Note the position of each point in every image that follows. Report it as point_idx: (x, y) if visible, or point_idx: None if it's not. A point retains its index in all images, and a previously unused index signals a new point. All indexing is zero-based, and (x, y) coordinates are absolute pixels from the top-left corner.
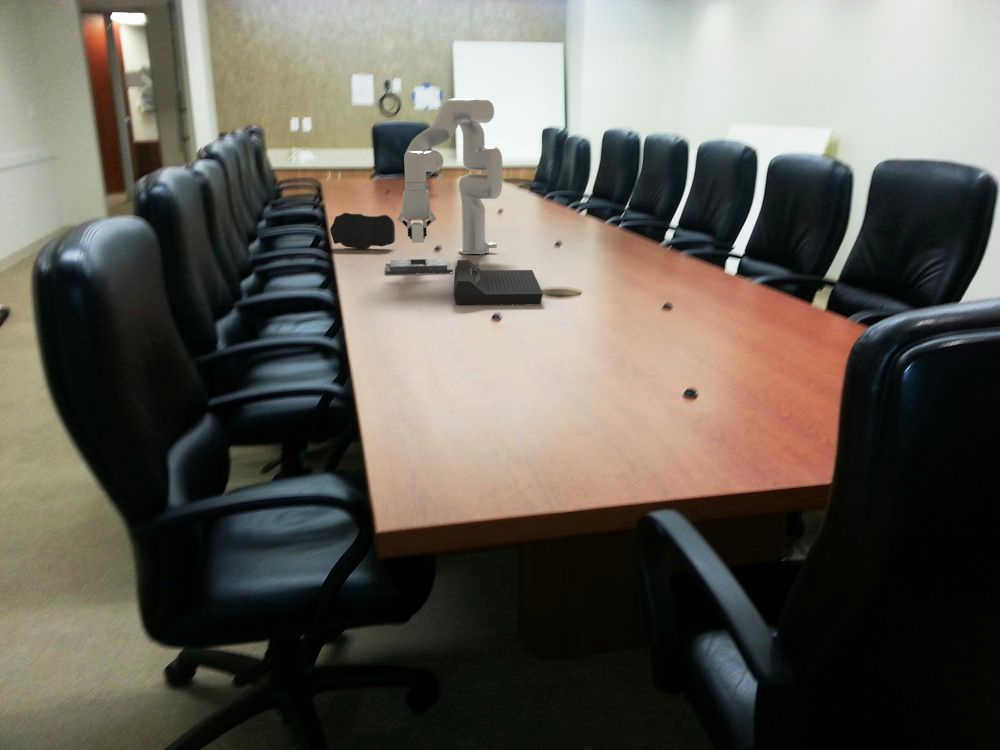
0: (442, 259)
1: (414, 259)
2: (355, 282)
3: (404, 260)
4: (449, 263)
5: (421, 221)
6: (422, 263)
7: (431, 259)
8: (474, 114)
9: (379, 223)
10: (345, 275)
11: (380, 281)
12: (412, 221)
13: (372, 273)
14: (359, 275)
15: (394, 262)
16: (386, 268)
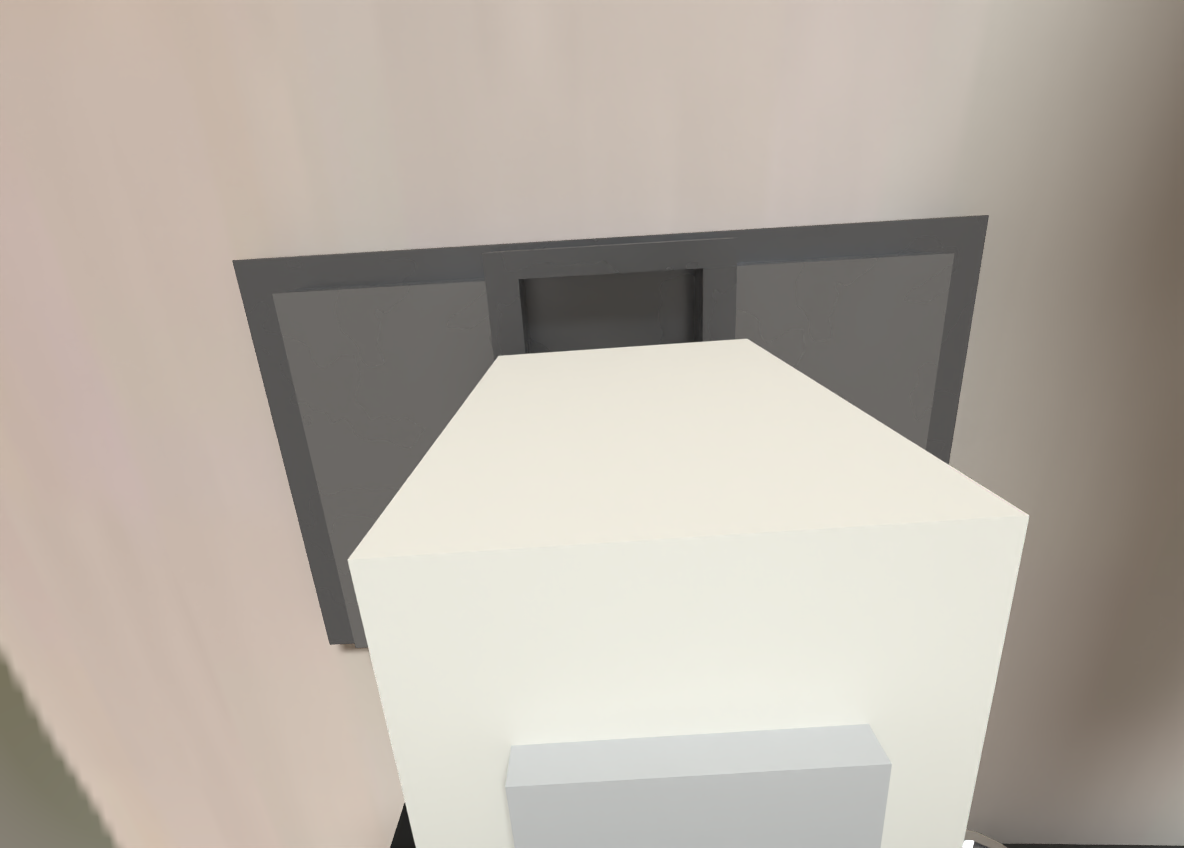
0: (917, 292)
1: (568, 265)
2: (190, 837)
3: (449, 328)
4: (969, 293)
5: (1004, 570)
6: (661, 272)
7: (782, 282)
8: None
9: None
10: (10, 630)
11: (356, 820)
12: (452, 552)
13: (213, 568)
14: (129, 636)
15: (353, 449)
16: (308, 524)
